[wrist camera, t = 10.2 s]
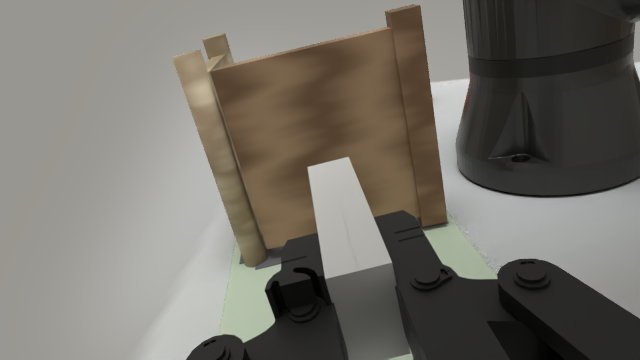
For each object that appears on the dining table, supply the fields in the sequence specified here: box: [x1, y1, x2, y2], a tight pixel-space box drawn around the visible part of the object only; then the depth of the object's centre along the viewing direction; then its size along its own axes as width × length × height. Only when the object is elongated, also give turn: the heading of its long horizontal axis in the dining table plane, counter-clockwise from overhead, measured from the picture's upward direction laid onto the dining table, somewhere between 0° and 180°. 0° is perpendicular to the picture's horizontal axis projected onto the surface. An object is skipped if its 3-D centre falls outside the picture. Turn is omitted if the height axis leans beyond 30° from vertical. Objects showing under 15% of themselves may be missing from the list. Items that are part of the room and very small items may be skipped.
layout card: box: [219, 210, 497, 360], centre depth 34 cm, size 17×28×1 cm, turn 5°
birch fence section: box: [172, 33, 268, 268], centre depth 36 cm, size 2×14×16 cm, turn 5°
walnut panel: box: [210, 5, 448, 249], centre depth 30 cm, size 13×2×15 cm, turn 92°
